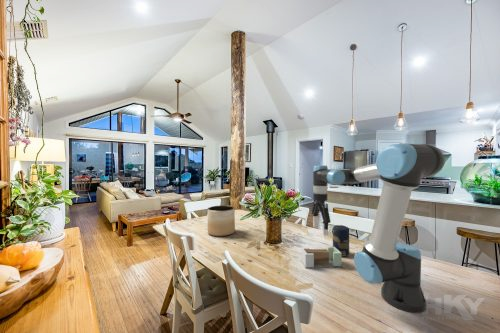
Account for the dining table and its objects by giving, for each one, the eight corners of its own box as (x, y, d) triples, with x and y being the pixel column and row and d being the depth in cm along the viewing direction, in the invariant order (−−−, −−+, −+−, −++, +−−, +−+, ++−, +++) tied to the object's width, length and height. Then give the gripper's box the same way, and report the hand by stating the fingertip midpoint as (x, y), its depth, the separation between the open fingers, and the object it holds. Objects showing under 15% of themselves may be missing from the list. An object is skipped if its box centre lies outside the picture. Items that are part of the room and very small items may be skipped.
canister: (351, 258, 129) (351, 228, 128) (334, 256, 131) (334, 227, 130) (347, 251, 138) (347, 223, 138) (331, 250, 140) (331, 222, 140)
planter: (212, 227, 189) (212, 205, 188) (237, 228, 186) (237, 205, 185) (203, 236, 167) (203, 210, 166) (231, 237, 164) (231, 211, 163)
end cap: (341, 265, 118) (341, 253, 117) (333, 266, 117) (333, 253, 117) (334, 258, 126) (334, 246, 126) (327, 258, 126) (327, 246, 126)
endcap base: (342, 267, 117) (342, 253, 117) (305, 268, 117) (305, 254, 117) (334, 259, 127) (334, 247, 126) (300, 260, 126) (301, 247, 126)
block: (328, 264, 120) (328, 252, 119) (306, 264, 120) (306, 251, 120) (326, 261, 124) (326, 249, 123) (305, 261, 124) (305, 249, 124)
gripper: (337, 196, 109) (337, 238, 109) (318, 190, 134) (318, 224, 134) (323, 196, 108) (323, 238, 108) (306, 190, 133) (306, 224, 133)
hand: (320, 230), depth 121 cm, fingers open, 13 cm apart
